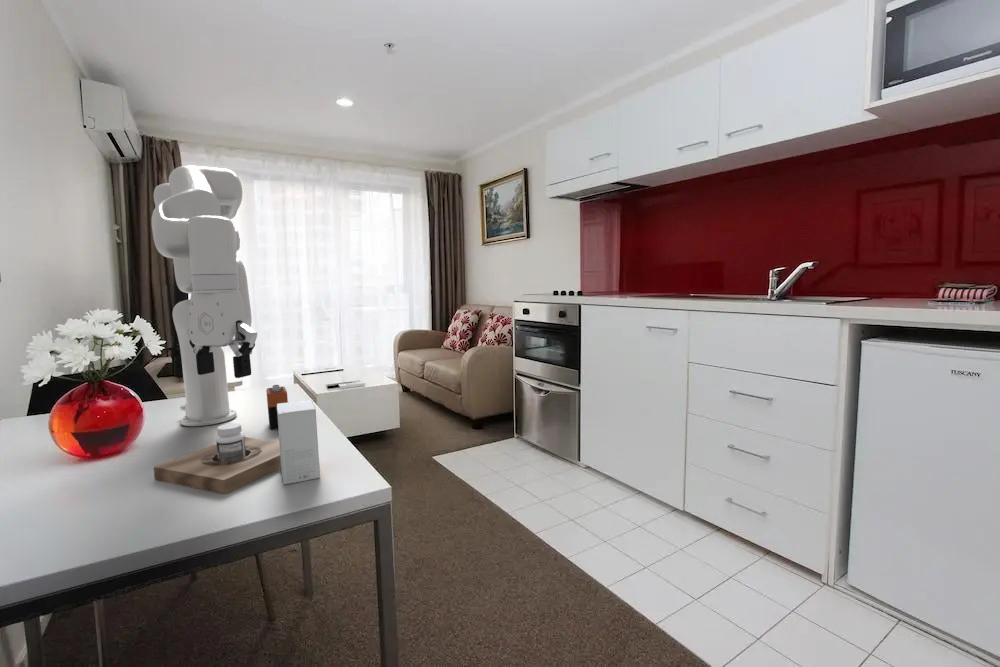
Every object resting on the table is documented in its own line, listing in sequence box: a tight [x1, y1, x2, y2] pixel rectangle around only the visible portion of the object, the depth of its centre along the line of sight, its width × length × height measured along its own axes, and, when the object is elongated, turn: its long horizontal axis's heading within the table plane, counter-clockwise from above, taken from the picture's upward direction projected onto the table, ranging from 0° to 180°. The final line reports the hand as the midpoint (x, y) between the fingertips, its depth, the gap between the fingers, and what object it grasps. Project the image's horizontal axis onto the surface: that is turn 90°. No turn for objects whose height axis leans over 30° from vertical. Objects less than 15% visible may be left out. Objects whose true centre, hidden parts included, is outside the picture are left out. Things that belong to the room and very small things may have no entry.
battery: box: [265, 384, 289, 430], centre depth 121 cm, size 4×7×10 cm, turn 28°
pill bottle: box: [215, 422, 246, 462], centre depth 95 cm, size 5×5×8 cm
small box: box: [277, 399, 321, 486], centre depth 90 cm, size 8×6×13 cm
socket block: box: [153, 436, 281, 495], centre depth 95 cm, size 18×18×2 cm
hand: (224, 374), depth 93 cm, fingers open, 9 cm apart
